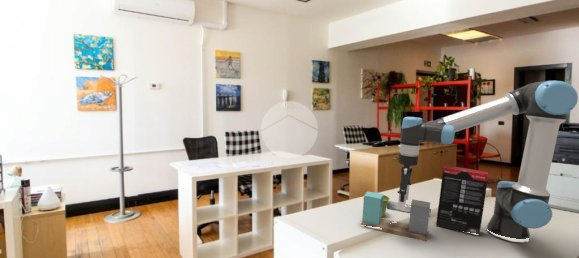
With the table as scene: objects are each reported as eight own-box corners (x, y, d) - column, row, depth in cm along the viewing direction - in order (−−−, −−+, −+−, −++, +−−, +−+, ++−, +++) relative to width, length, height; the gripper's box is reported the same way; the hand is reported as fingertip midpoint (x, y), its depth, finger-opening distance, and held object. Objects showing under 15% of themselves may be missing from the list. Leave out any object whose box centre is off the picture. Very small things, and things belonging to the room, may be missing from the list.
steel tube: (430, 215, 131) (431, 207, 131) (430, 218, 128) (430, 210, 128) (387, 207, 138) (388, 199, 138) (386, 210, 135) (387, 202, 135)
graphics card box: (480, 231, 138) (488, 170, 135) (480, 237, 132) (488, 173, 129) (437, 221, 147) (443, 163, 143) (435, 226, 141) (442, 166, 137)
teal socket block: (381, 219, 142) (383, 194, 140) (378, 225, 135) (380, 198, 134) (365, 216, 145) (367, 191, 143) (362, 221, 138) (364, 195, 137)
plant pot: (365, 215, 150) (367, 197, 149) (370, 209, 158) (371, 192, 157) (385, 220, 145) (387, 201, 144) (389, 213, 154) (391, 196, 153)
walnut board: (427, 231, 135) (427, 228, 135) (426, 241, 126) (426, 237, 126) (365, 218, 146) (366, 215, 146) (361, 226, 137) (361, 223, 137)
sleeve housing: (427, 229, 134) (430, 202, 132) (426, 236, 127) (429, 207, 126) (409, 225, 137) (412, 199, 135) (408, 232, 130) (411, 204, 129)
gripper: (402, 148, 144) (397, 194, 146) (395, 158, 121) (389, 211, 124) (420, 151, 141) (414, 197, 143) (416, 161, 118) (409, 215, 121)
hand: (402, 204), depth 134 cm, fingers open, 13 cm apart
